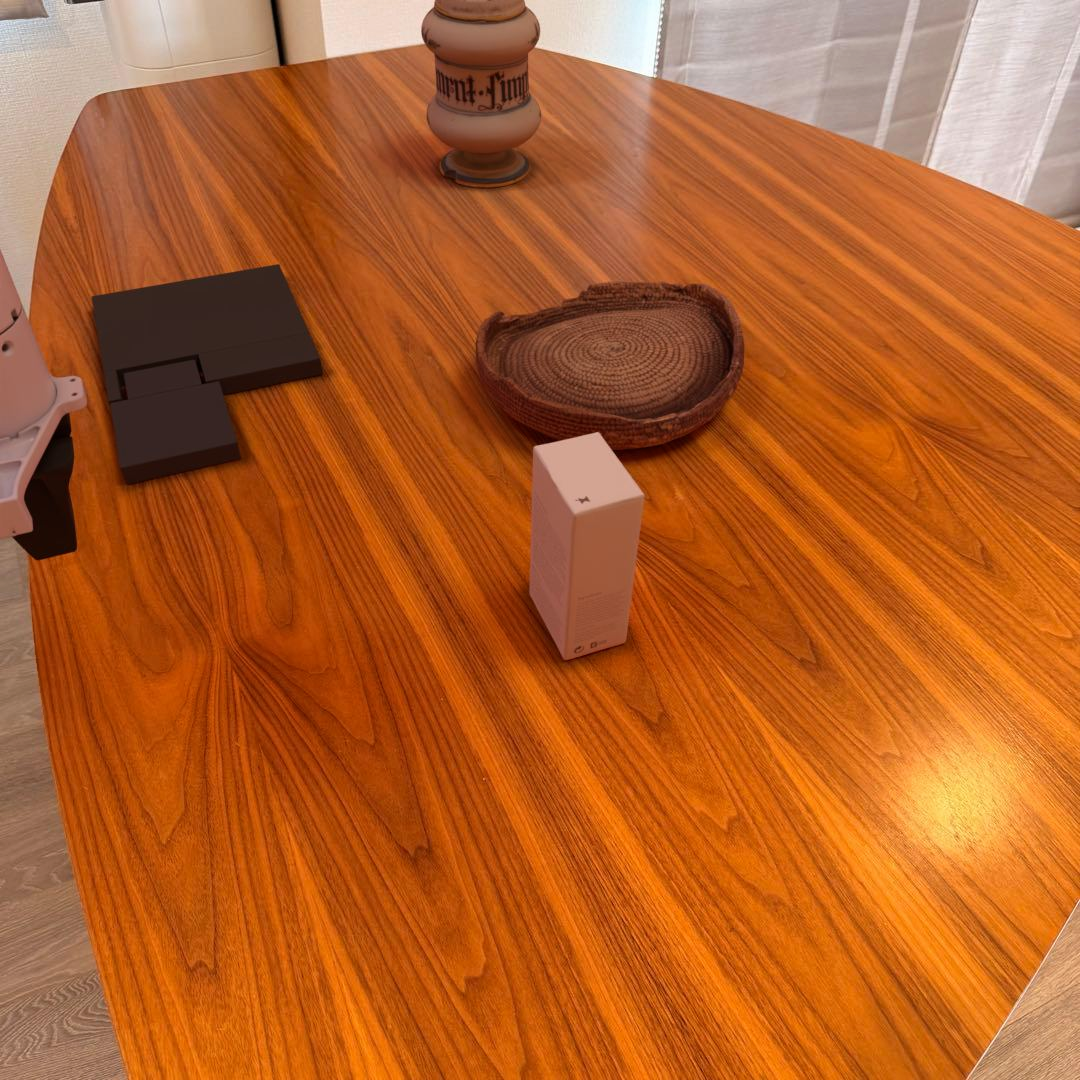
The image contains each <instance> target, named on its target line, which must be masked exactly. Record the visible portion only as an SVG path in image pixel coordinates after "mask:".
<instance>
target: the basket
mask: <svg viewBox="0 0 1080 1080" xmlns="http://www.w3.org/2000/svg"><path fill="white" fill-rule="evenodd" d="M738 314H739V313H738V312H737V310H736V308H735V306H734V304H733V303H732V301H731V300H730V299H729V298H728V296H726V295H725V294H723V293H722V292H721V291H719V290H718V289H717V288H715V287H712V286H711V285H709V284H707V283H689V284H687V285H685V286H683V285H682V284H680V282H679V283H668V282H665V281H651V282H648V281H647V282H645V281H643V282H642V281H618V280H617V281H607V282H605V281H604V282H598V283H594V284H593V283H592V284H589V285H588V287H587V289H586V290H581V291H580V293H579V295H578V296H577V297H572V298H565V299H564V298H563V299H562V303H561V305H560V306H550V307H547V308H544V309H541V310H539V311H538V310H537V311H536V312H535V311H534V312H531V313H525V314H512V315H511V316H505V315H506V314H505V313H504V312H503V311H498V312H494V313H492V314H490V316H489V317H487V318H484V319H483V322H482V323H480V325H479V328H478V329H477V332H476V339H475V363H476V367H477V368H476V369H477V373H478V377H479V379H480V382H481V384H482V386H483V389H484V390H485V391H486V393H487V394H488V396H489V397H490V398H491V399H492V401H493V402H494V403H496V404H497V405H498V406H499V407H500V408H501V409H502V410H503V411H504V412H505V413H506V414H507V415H508V416H509V417H510V418H511V419H513V420H515V421H517V422H519V423H521V424H522V425H524V426H526V427H528V428H530V429H533V430H534V431H537V432H539V433H540V434H542V435H545V436H547V437H548V438H549V437H550V438H552V439H555V440H557V441H562V440H566V439H571V438H575V437H579V436H583V435H588V434H592V433H596V432H599V433H600V434H601V436H602V437H603V439H604V440H605V441H606V443H607V444H608V446H609V447H610V448H611V450H612V451H613V450H615V451H616V450H617V451H618V450H619V451H620V450H633V449H640V448H641V449H642V448H647V447H654V446H659V445H664V444H666V443H669V442H671V441H674V440H676V439H679V438H682V437H684V436H686V435H688V434H690V433H691V432H693V431H695V430H696V429H698V428H701V426H703V425H705V424H706V423H708V422H709V421H711V420H712V419H713V418H714V417H715V416H716V415H717V413H719V412H720V411H721V410H722V409H723V408H724V407H725V405H726V404H727V403H728V402H729V401H730V400H731V398H732V396H733V395H734V393H735V392H736V390H737V387H738V386H739V383H740V380H741V377H742V375H743V372H744V366H745V340H744V334H743V328H742V325H741V320H740V317H739V315H738Z"/></svg>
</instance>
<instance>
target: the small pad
mask: <svg viewBox="0 0 1080 1080" xmlns="http://www.w3.org/2000/svg"><path fill="white" fill-rule="evenodd" d="M199 372H200V371H198V368H197V365H196V361H195V360H189V361H184V362H179V363H174V364H169V365H164V366H159V367H153V368H148V369H143V370H138V371H133V372H128V373H124V380H125V385H126V386H125V391H126V396H127V399H124V401H119V402H114V403H110V404H109V407H110V413H111V418H112V426H113V433H114V437H115V438H114V439H115V445H116V451H117V457H118V465H119V469H120V472H121V474H122V477H123V480H124V483H125V484H126V485H132V484H136V483H141V482H145V481H148V480H154V479H158V478H162V477H167V476H171V475H177V474H181V473H184V472H188V471H194V470H197V469H202V468H207V467H211V466H215V465H220V464H225V463H229V462H233V461H238V460H241V459H242V454H241V451H240V447H239V442H238V439H237V436H236V433H235V429H234V426H233V422H232V420H231V416H230V412H229V409H228V406H227V402H226V399H225V395H223V392H222V389H221V385H220V382H219V381H217V382H213V383H208V384H206V383H202V380H201V377H200V373H199Z"/></svg>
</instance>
